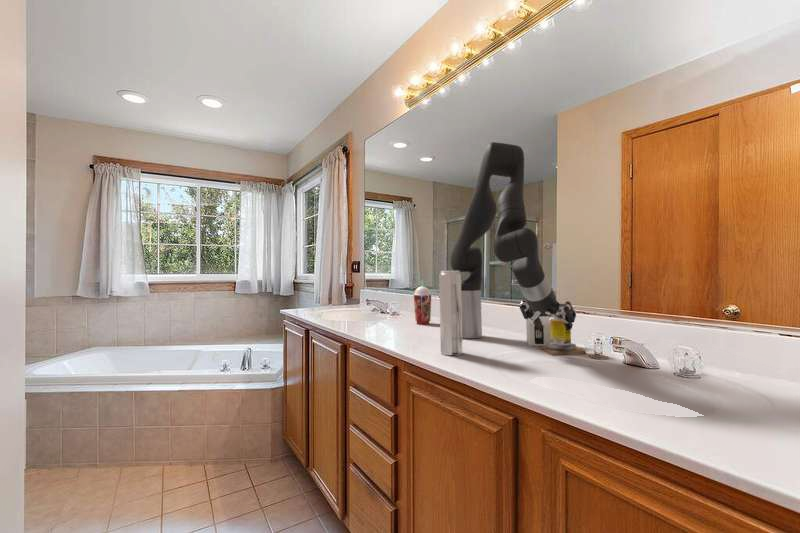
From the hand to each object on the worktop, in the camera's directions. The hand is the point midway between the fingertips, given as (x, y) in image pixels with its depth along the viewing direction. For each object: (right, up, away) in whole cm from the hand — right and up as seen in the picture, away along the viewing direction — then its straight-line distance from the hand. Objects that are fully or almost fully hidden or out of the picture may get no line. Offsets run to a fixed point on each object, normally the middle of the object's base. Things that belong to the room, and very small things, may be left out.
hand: (554, 327), depth 113 cm
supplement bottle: (+4, -6, +4) cm, 8 cm away
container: (+1, -8, +15) cm, 17 cm away
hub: (+4, -8, +4) cm, 10 cm away
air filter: (-29, -9, +4) cm, 31 cm away
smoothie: (-34, -9, +67) cm, 76 cm away
